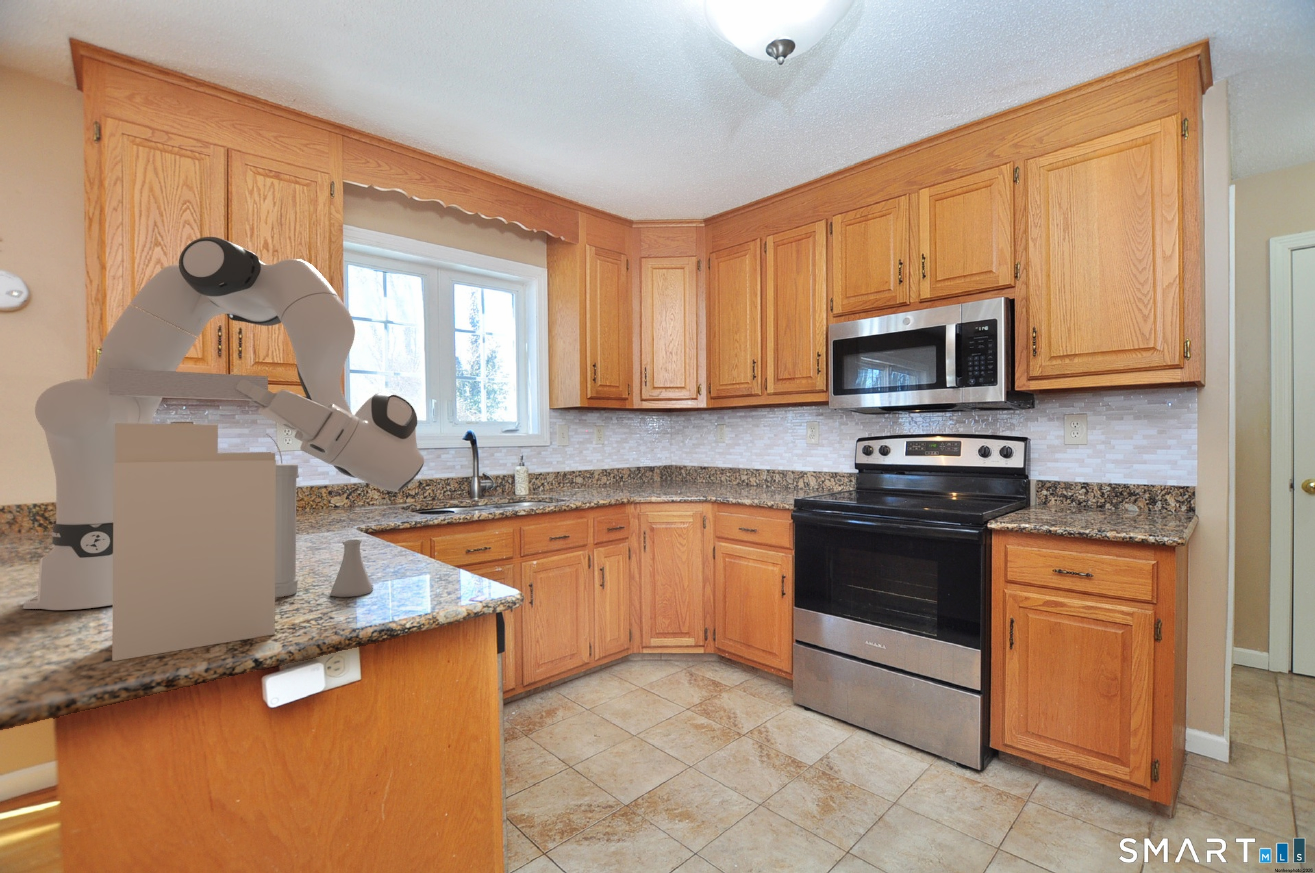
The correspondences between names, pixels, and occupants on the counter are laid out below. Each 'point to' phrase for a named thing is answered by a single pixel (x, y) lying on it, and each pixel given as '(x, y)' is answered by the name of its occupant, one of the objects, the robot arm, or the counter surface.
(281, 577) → the pipe
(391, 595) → the counter surface
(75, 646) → the counter surface
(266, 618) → the stepped beige panel
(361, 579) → the flask
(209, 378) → the bar
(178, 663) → the counter surface
